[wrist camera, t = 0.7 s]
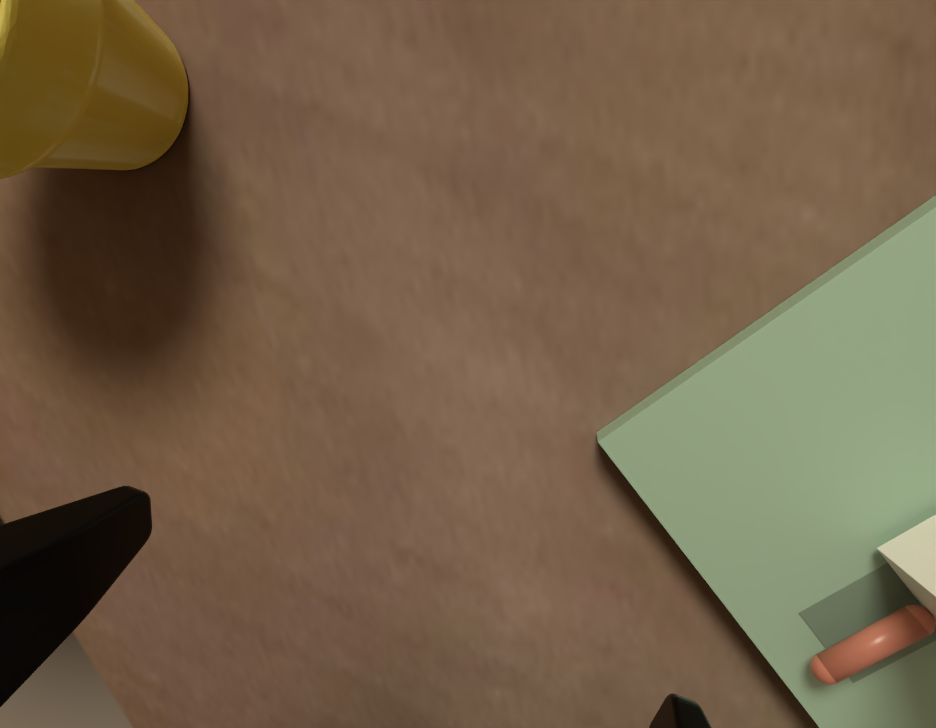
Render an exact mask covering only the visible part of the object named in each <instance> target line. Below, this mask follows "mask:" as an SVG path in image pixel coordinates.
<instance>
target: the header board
mask: <svg viewBox="0 0 936 728" xmlns="http://www.w3.org/2000/svg"><path fill="white" fill-rule="evenodd" d="M596 434H597V440H598V443H599V444H600V445H601V447H602V448H603V449H604V450H605V452H606V453H607V454H608V456H609V457H610V458H611V459H612V461H613V462H614V463H615V465H616V466H617V467H618V468H619V470H620V471H621V472H622V474H623V475H624V476H625V478H626V479H627V480H628V481H629V483H630V484H631V485H632V487H633V488H634V489H635V490H636V492H637V493H638V494H639V496H640V497H641V498H642V499H643V501H644V502H645V503H646V505H647V506H648V507H649V508H650V510H651V511H652V512H653V514H654V515H655V516H656V518H657V519H658V520H659V521H660V523H661V524H662V525H663V527H664V528H665V529H666V530H667V532H668V533H669V534H670V536H671V537H672V538H673V539H674V541H675V542H676V543H677V545H678V546H679V547H680V548H681V550H682V551H683V552H684V554H685V555H686V556H687V558H688V559H689V560H690V561H691V563H692V564H693V565H694V567H695V568H696V569H697V570H698V572H699V573H700V574H701V576H702V577H703V578H704V579H705V581H706V582H707V583H708V585H709V586H710V587H711V589H712V590H713V591H714V592H715V594H716V595H717V596H718V598H719V599H720V600H721V601H722V603H723V604H724V605H725V607H726V608H727V609H728V610H729V612H730V613H731V614H732V616H733V617H734V618H735V619H736V621H737V622H738V623H739V625H740V626H741V627H742V629H743V630H744V631H745V632H746V634H747V635H748V636H749V638H750V639H751V640H752V641H753V643H754V644H755V645H756V647H757V648H758V649H759V650H760V652H761V653H762V654H763V656H764V657H765V658H766V659H767V661H768V662H769V663H770V665H771V666H772V667H773V669H774V670H775V671H776V672H777V674H778V675H779V676H780V678H781V679H782V680H783V681H784V683H785V684H786V685H787V687H788V688H789V689H790V690H791V692H792V693H793V694H794V696H795V697H796V698H797V699H798V701H799V702H800V703H801V705H802V706H803V707H804V709H805V710H806V711H807V712H808V714H809V715H810V716H811V718H812V719H813V720H814V721H815V723H816V724H817V725H818V727H819V728H936V627H935V630H934V632H933V633H932V634H931V635H929V636H927V637H925V638H923V639H921V640H920V641H918V642H916V643H914V644H912V645H910V646H908V647H906V648H904V649H902V650H900V651H898V652H897V653H895V654H893V655H891V656H889V657H887V658H885V659H883V660H881V661H879V662H877V663H875V664H874V665H872V666H870V667H868V668H866V669H864V670H862V671H860V672H858V673H856V674H854V675H852V676H851V677H849V678H847V679H845V680H843V681H841V682H839V683H837V684H834V685H828V684H824V683H822V682H820V681H819V680H818V679H816V678H815V676H814V675H813V673H812V671H811V669H810V661H811V659H812V657H813V656H814V655H816V654H817V653H819V652H821V651H823V650H825V649H827V648H828V647H830V646H832V645H834V644H836V643H838V642H840V641H841V640H843V639H845V638H847V637H849V636H851V635H853V634H854V633H856V632H858V631H860V630H862V629H864V628H866V627H867V626H869V625H871V624H873V623H875V622H877V621H879V620H880V619H882V618H884V617H886V616H888V615H890V614H892V613H893V612H895V611H897V610H899V609H901V608H903V607H905V606H907V605H918V606H921V607H922V605H921V604H920V603H919V601H918V600H917V599H916V598H915V596H914V595H913V594H912V593H911V591H910V590H909V589H908V587H907V586H906V585H905V584H904V582H903V581H902V580H901V579H900V577H899V576H898V575H897V573H896V572H895V571H894V570H893V568H892V567H891V566H890V565H889V563H888V562H887V561H886V559H885V558H884V557H883V556H882V554H881V553H880V552H879V551H878V549H877V548H878V547H880V546H881V545H883V544H885V543H887V542H888V541H890V540H892V539H894V538H895V537H897V536H899V535H901V534H902V533H904V532H906V531H908V530H909V529H911V528H913V527H915V526H916V525H918V524H920V523H922V522H923V521H925V520H927V519H929V518H931V517H932V516H934V515H936V195H935V196H934V197H932V198H931V199H930V200H928V201H927V202H925V203H924V204H922V205H921V206H920V207H918V208H917V209H915V210H914V211H912V212H911V213H910V214H908V215H907V216H905V217H904V218H902V219H901V220H900V221H898V222H897V223H895V224H894V225H892V226H891V227H890V228H888V229H887V230H885V231H884V232H882V233H881V234H880V235H878V236H877V237H875V238H874V239H872V240H871V241H870V242H868V243H867V244H865V245H864V246H862V247H861V248H860V249H858V250H857V251H855V252H854V253H852V254H851V255H850V256H848V257H847V258H845V259H844V260H842V261H841V262H840V263H838V264H837V265H835V266H834V267H832V268H831V269H830V270H828V271H827V272H825V273H824V274H822V275H821V276H820V277H818V278H817V279H815V280H814V281H812V282H811V283H810V284H808V285H807V286H805V287H804V288H802V289H801V290H800V291H798V292H797V293H795V294H794V295H792V296H791V297H790V298H788V299H787V300H785V301H784V302H782V303H781V304H780V305H778V306H777V307H775V308H774V309H772V310H771V311H770V312H768V313H767V314H765V315H764V316H762V317H761V318H760V319H758V320H757V321H755V322H754V323H752V324H751V325H750V326H748V327H747V328H745V329H744V330H742V331H741V332H740V333H738V334H737V335H735V336H734V337H732V338H731V339H730V340H728V341H727V342H725V343H724V344H722V345H721V346H720V347H718V348H717V349H715V350H714V351H712V352H711V353H710V354H708V355H707V356H705V357H704V358H702V359H701V360H700V361H698V362H697V363H695V364H694V365H692V366H691V367H690V368H688V369H687V370H685V371H684V372H682V373H681V374H680V375H678V376H677V377H675V378H674V379H672V380H671V381H670V382H668V383H667V384H665V385H664V386H662V387H661V388H660V389H658V390H657V391H655V392H654V393H652V394H651V395H650V396H648V397H647V398H645V399H644V400H642V401H641V402H640V403H638V404H637V405H635V406H634V407H632V408H631V409H630V410H628V411H627V412H625V413H624V414H622V415H621V416H620V417H618V418H617V419H615V420H614V421H612V422H611V423H610V424H608V425H607V426H605V427H604V428H602V429H601V430H600V431H598V432H597V433H596Z"/></svg>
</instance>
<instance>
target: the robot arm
mask: <svg viewBox="0 0 936 728" xmlns="http://www.w3.org/2000/svg"><path fill="white" fill-rule="evenodd" d="M151 530H152V517H151V502H150V497H149V495H148V494H147V493H146V492H144V491H141V490H139V489H136V488H133V487H130V486H122V487H118V488H115V489H112V490H109V491H106V492H103V493H99V494H96V495H93V496H90V497H87V498H84V499H81V500H78V501H75V502H71V503H68V504H65V505H62V506H59V507H56V508H53V509H50V510H46V511H43V512H40V513H37V514H34V515H31V516H28V517H25V518H21V519H18V520H15V521H12V522H9V523H6V524H3V525H0V707H1V706H2V705H3V704H4V703H5V702H6V701H7V700H8V699H9V697H10V696H11V695H12V694H13V693H14V692H15V691H16V690H17V689H18V688H19V687H20V686H21V685H22V684H23V683H24V682H25V681H26V680H27V679H28V678H29V677H30V676H31V675H32V673H33V672H34V671H35V670H36V669H37V668H38V667H39V666H40V665H41V664H42V663H43V662H44V661H45V660H46V659H47V658H48V657H49V656H50V654H52V653H53V652H54V650H55V649H56V648H57V647H58V646H59V645H60V644H61V643H62V642H63V641H64V640H65V639H66V638H67V637H68V636H69V635H70V634H71V633H72V632H73V631H74V629H75V628H76V627H77V626H78V625H79V624H80V623H81V622H82V621H83V620H84V619H85V617H86V616H87V615H88V614H89V613H90V611H91V610H92V609H93V608H94V607H95V605H96V604H97V603H98V602H99V600H100V599H101V598H102V597H103V595H104V594H105V593H106V592H107V590H108V589H109V588H110V587H111V585H112V584H113V583H114V582H115V580H116V579H117V578H118V577H119V575H120V574H121V573H122V572H123V570H124V569H125V568H126V567H127V565H128V564H129V563H130V562H131V560H132V559H133V558H134V557H135V555H136V554H137V553H138V552H139V550H140V549H141V548H142V547H143V545H144V544H145V543H146V541H147V540H148V538H149V536H150V534H151ZM649 728H711V726H710V724H709V722H708V720H707V718H706V716H705V714H704V712H703V710H702V709H701V707H700V706H699V705H698V704H697V703H696V702H694V701H692V700H690V699H687V698H684V697H682V696H679V695H677V694H669V695H668V696H667V697H666V699H665V700H664V702H663V704H662V705H661V707H660V709H659V710H658V712H657V714H656V715H655V717H654V719H653V720H652V722H651V724H650V727H649Z"/></svg>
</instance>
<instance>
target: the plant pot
mask: <svg viewBox="0 0 936 728" xmlns="http://www.w3.org/2000/svg"><path fill="white" fill-rule="evenodd" d="M187 106H188V81H187V75H186V72H185V68H184V65H183V62H182V60H181V57H180V55H179V53H178V51H177V50H176V48H175V46H174V45H173V43H172V42H171V40H170V39H169V38H168V37H167V35H166V34H165V33H164V32H163V31H162V30H161V29H160V28H159V27H158V26H157V25H156V24H155V22H154V21H153V20H152V19H151V18H150V17H149V16H148V15H147V14H146V13H145V12H144V11H143V10H142V9H141V8H140V7H139V5H138V4H137V3H136V2H135V1H134V0H0V179H2V178H6V177H10V176H13V175H16V174H19V173H21V172H24V171H26V170H28V169H30V168H71V169H100V170H132V169H137V168H141V167H143V166H146V165H148V164H150V163H152V162H153V161H155V160H157V159H158V158H159V157H161V156H162V155H163V154H164V153H165V152H166V151H167V150H168V149H169V148H170V147H171V146H172V144H173V143H174V141H175V140H176V138H177V137H178V135H179V133H180V131H181V128H182V126H183V123H184V120H185V116H186V112H187Z"/></svg>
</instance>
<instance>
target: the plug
mask: <svg viewBox="0 0 936 728" xmlns="http://www.w3.org/2000/svg"><path fill="white" fill-rule="evenodd" d="M877 549H878V551H879V552H880V553H881V554H882V556H883V557H884V558H885V559H886V561H887V562H888V563H889V565H890V566H891V567H892V568H893V570H894V571H895V572H896V573H897V575H898V576H899V577H900V579H901V580H902V581H903V582H904V584H905V585H906V586H907V587H908V589H909V590H910V591H911V593H912V594H913V595H914V596H915V598H916V599H917V600H918V601H919V603H920V604H921V605H922V607H921V606H918V605H907V606H905V607H903V608H901V609H899V610H897V611H895V612H893V613H892V614H890V615H888V616H886V617H884V618H882V619H880V620H879V621H877V622H875V623H873V624H871V625H869V626H867V627H866V628H864V629H862V630H860V631H858V632H856V633H854V634H853V635H851V636H849V637H847V638H845V639H843V640H841V641H840V642H838V643H836V644H834V645H832V646H830V647H828V648H827V649H825V650H823V651H821V652H819V653H817V654H816V655H814V656H813V657H812V659H811V661H810V669H811V671H812V673H813V675H814V676H815V678H816V679H818V680H819V681H820V682H822V683H824V684H828V685H834V684H837V683H839V682H841V681H843V680H845V679H847V678H849V677H851V676H852V675H854V674H856V673H858V672H860V671H862V670H864V669H866V668H868V667H870V666H872V665H874V664H875V663H877V662H879V661H881V660H883V659H885V658H887V657H889V656H891V655H893V654H895V653H897V652H898V651H900V650H902V649H904V648H906V647H908V646H910V645H912V644H914V643H916V642H918V641H920V640H921V639H923V638H925V637H927V636H929V635H931V634H932V633H933V632H934V630H935V627H936V515H934V516H932V517H931V518H929V519H927V520H925V521H923V522H922V523H920V524H918V525H916V526H915V527H913V528H911V529H909V530H908V531H906V532H904V533H902V534H901V535H899V536H897V537H895V538H894V539H892V540H890V541H888V542H887V543H885V544H883V545H881V546H880V547H878V548H877Z"/></svg>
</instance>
